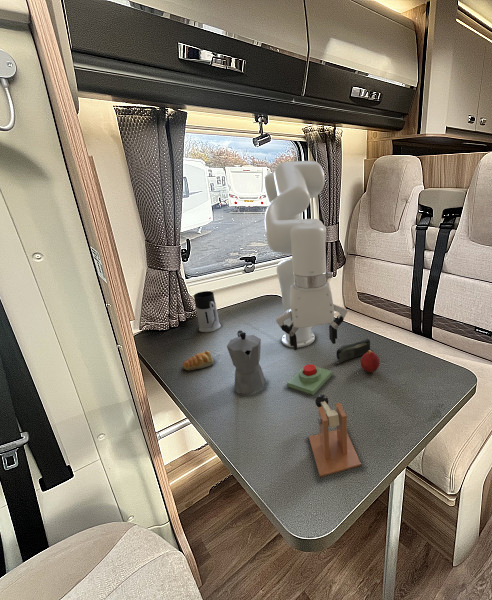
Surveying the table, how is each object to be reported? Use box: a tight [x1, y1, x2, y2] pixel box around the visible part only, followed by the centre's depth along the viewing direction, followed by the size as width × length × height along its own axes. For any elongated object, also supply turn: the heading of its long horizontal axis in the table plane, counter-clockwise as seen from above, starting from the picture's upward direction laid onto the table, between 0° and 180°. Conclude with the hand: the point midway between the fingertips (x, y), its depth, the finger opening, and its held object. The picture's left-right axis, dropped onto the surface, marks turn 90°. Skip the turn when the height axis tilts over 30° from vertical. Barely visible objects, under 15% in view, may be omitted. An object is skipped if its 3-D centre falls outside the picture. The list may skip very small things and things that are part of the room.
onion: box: [360, 349, 380, 373], centre depth 99 cm, size 6×6×8 cm
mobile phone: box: [334, 338, 371, 365], centre depth 108 cm, size 5×3×15 cm
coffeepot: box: [226, 329, 267, 395], centre depth 92 cm, size 15×9×18 cm, turn 25°
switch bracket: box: [308, 402, 362, 478], centre depth 69 cm, size 11×9×12 cm
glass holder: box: [193, 290, 222, 333], centre depth 129 cm, size 9×14×15 cm, turn 43°
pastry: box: [182, 350, 215, 371], centre depth 106 cm, size 9×7×4 cm
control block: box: [286, 363, 333, 396], centre depth 95 cm, size 11×9×4 cm
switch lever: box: [314, 394, 340, 428], centre depth 72 cm, size 13×3×3 cm, turn 16°
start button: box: [303, 363, 316, 376], centre depth 94 cm, size 4×4×2 cm
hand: (314, 344), depth 79 cm, fingers open, 9 cm apart
